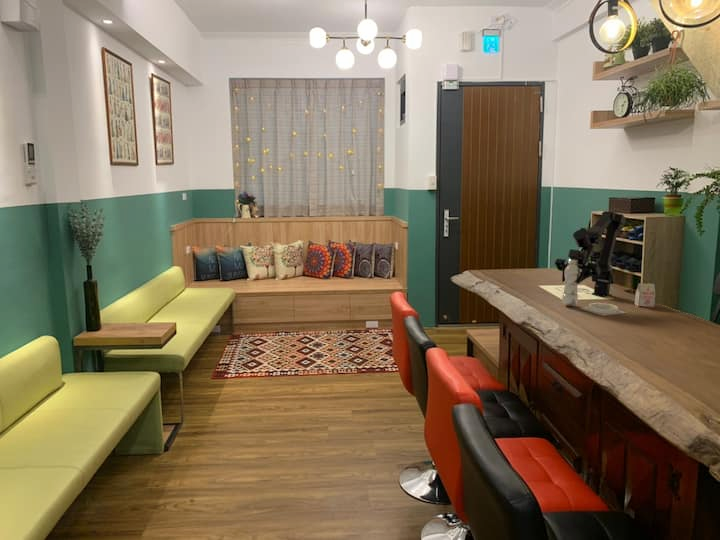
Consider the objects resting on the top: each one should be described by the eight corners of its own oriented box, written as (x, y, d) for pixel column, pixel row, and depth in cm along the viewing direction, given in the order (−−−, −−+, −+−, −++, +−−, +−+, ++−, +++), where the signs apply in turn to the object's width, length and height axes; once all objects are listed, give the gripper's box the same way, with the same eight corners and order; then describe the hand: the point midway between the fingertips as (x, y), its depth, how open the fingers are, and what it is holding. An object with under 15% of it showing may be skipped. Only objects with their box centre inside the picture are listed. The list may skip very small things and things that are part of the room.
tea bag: (634, 304, 254) (636, 282, 252) (649, 305, 254) (652, 283, 252) (638, 306, 250) (640, 284, 248) (653, 307, 250) (656, 284, 248)
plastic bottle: (578, 303, 251) (581, 258, 247) (576, 307, 245) (580, 261, 241) (562, 302, 254) (566, 257, 250) (560, 305, 248) (564, 259, 244)
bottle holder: (602, 306, 250) (602, 301, 250) (626, 313, 238) (627, 308, 238) (579, 308, 245) (579, 303, 245) (603, 315, 233) (603, 310, 233)
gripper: (558, 240, 254) (544, 267, 248) (600, 244, 240) (586, 274, 235) (565, 255, 260) (551, 283, 255) (606, 261, 247) (593, 290, 242)
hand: (569, 282), depth 246 cm, fingers closed on plastic bottle, 6 cm apart
